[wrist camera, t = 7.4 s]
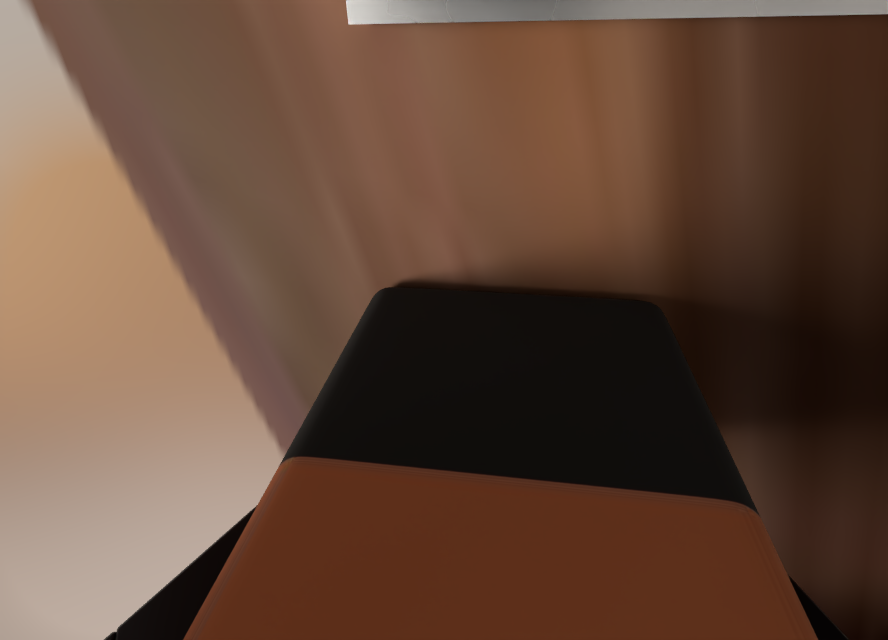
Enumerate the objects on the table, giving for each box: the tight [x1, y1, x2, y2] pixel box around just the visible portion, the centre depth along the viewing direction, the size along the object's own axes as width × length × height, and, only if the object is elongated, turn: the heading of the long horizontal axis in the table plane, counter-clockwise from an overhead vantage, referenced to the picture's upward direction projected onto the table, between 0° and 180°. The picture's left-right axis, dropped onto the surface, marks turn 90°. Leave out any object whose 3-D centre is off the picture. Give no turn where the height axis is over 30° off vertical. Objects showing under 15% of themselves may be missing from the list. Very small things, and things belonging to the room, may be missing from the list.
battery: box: [183, 287, 818, 640], centre depth 8 cm, size 4×7×10 cm, turn 91°
